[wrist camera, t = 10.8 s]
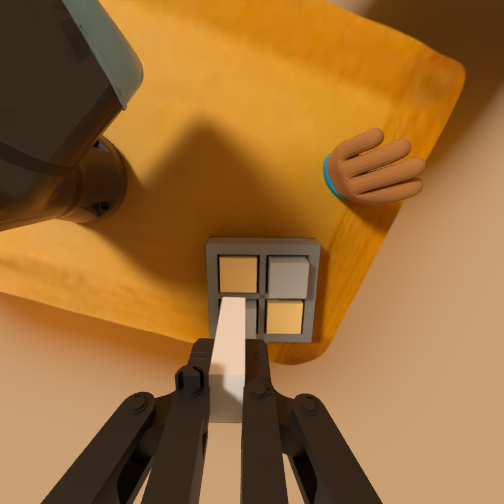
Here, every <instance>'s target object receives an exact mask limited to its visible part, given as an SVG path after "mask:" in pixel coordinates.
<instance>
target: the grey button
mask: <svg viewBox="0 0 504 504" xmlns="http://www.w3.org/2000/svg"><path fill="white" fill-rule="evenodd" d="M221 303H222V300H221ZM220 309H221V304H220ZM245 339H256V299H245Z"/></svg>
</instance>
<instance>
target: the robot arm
mask: <svg viewBox="0 0 504 504" xmlns="http://www.w3.org/2000/svg"><path fill="white" fill-rule="evenodd" d="M142 81H143V67H142V64H141V62H140V59H139V58H138V56H137V54H136V53H135V51H134V50H133V48H132V47H131V45H130V44H129V42H128V41H127V39H126V38H125V37H124V35H123V34H122V32H121V31H120V30H119V28H118V27H117V25H116V24H115V23H114V21H113V20H112V19H111V17H110V16H109V14H108V13H107V12H106V10H105V9H104V8H103V6H102V5H101V4H100V2H99V1H98V0H0V231H5V230H9V229H13V228H17V227H21V226H26V225H30V224H34V223H38V222H43V221H47V220H51V219H59V220H64V221H70V222H76V223H85V222H92V221H96V220H99V219H102V218H105V217H107V216H109V215H110V214H112V213H113V212H114V211H115V210H116V209H117V208H118V207H119V206H120V204H121V203H122V201H123V199H124V196H125V193H126V188H127V176H126V170H125V167H124V164H123V161H122V159H121V157H120V155H119V153H118V152H117V150H116V149H115V147H114V146H113V145H112V144H111V143H110V142H109V141H108V140H107V139H106V138H105V137H104V136H103V135H102V134H103V133H104V132H105V130H106V129H107V128H108V127H109V126H110V124H111V123H112V122H113V121H114V119H115V118H116V117H117V116H118V114H119V113H120V112H121V111H122V110H123V111H125V110H126V109H127V103H128V102H129V101H130V99H131V98H132V97H133V95H134V94H135V92H136V91H137V90H138V88H139V87H140V85H141V84H142ZM175 384H176V390H175V391H174V392H172V393H170V394H168V395H165V396H161V397H158V398H154V396H153V395H152V394H150V393H148V392H138V393H135V394H133V395H131V396H129V397H128V398H127V399H125V400H124V402H122V404H121V405H120V406H119V407H118V409H117V410H116V411H115V412H114V414H113V415H112V416H111V417H110V418H109V420H108V421H107V422H106V423H105V425H104V426H103V427H102V428H101V430H100V431H99V432H98V433H97V434H96V436H95V437H94V438H93V439H92V441H91V442H90V443H89V444H88V446H87V447H86V448H85V449H84V451H83V452H82V453H81V454H80V456H79V457H78V458H77V459H76V460H75V462H74V463H73V464H72V465H71V467H70V468H69V469H68V470H67V472H66V473H65V474H64V475H63V477H62V478H61V479H60V480H59V481H58V483H57V484H56V485H55V486H54V488H53V489H52V490H51V492H50V493H49V494H48V495H47V496H46V498H45V499H44V500H43V501H42V503H41V504H133V502H134V500H135V498H136V496H137V494H138V492H139V491H140V488H141V487H142V485H143V483H144V481H145V479H146V477H147V475H148V474H149V472H150V470H151V472H150V475H149V479H148V482H147V485H146V488H145V492H144V495H143V498H142V501H141V504H199V496H200V489H201V482H202V475H203V467H204V461H205V454H206V446H207V439H208V423H242V438H241V495H240V497H241V498H240V504H288V496H287V488H286V480H285V472H284V464H283V456H282V453H284V454H287V456H288V459H289V462H290V464H291V467H292V470H293V473H294V476H295V478H296V481H297V484H298V486H299V489H300V492H301V495H302V498H303V500H304V503H305V504H383V503H382V502H381V500H380V498H379V497H378V495H377V493H376V492H375V490H374V488H373V487H372V485H371V483H370V482H369V480H368V478H367V476H366V475H365V473H364V471H363V470H362V468H361V466H360V465H359V463H358V461H357V460H356V458H355V456H354V455H353V453H352V452H351V450H350V448H349V446H348V445H347V443H346V441H345V439H344V438H343V436H342V434H341V433H340V431H339V429H338V428H337V426H336V425H335V423H334V421H333V419H332V418H331V416H330V414H329V413H328V411H327V409H326V408H325V406H324V404H323V403H322V402H321V401H320V400H319V399H318V398H317V397H315V396H314V395H311V394H300V395H297V396H296V397H295V398H294V399H292V398H288V397H285V396H283V395H281V394H280V393H278V392H277V391H276V390H275V389H274V387H273V386H272V383H271V377H270V368H269V360H268V351H267V345H266V344H265V342H264V341H263V339H245V298H240V297H223V298H222V303H221V309H220V315H219V320H218V326H217V331H216V337H215V339H207V338H199V339H198V340H197V341H196V342H195V343H194V344H193V348H192V351H191V354H190V358H189V361H188V364H187V365H185V366H183V367H181V368H180V369H179V370H178V371H177V373H176V374H175ZM151 468H152V469H151Z"/></svg>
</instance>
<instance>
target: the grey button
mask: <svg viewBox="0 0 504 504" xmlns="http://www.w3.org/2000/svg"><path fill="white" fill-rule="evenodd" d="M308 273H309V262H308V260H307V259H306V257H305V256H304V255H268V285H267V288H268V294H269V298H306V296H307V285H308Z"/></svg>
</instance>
